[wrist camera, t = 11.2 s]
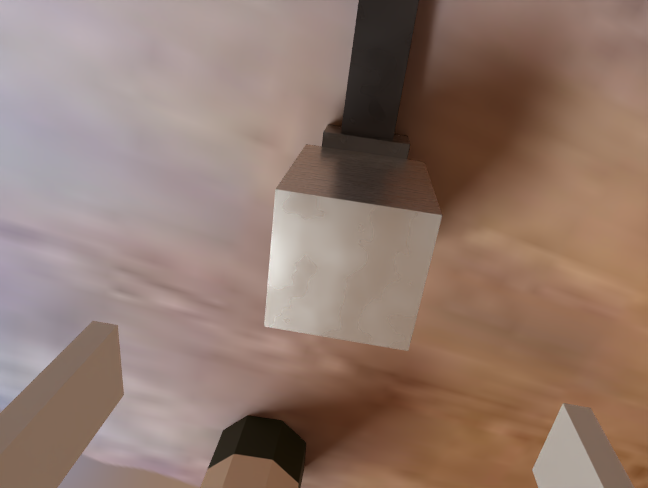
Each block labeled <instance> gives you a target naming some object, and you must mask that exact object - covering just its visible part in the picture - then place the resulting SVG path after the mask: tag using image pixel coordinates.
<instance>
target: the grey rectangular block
mask: <svg viewBox="0 0 648 488" xmlns="http://www.w3.org/2000/svg"><path fill="white" fill-rule="evenodd" d="M441 218H442V213H441V210H440V207H439V204H438V201H437V198H436V195H435V192H434V189H433V186H432V183H431V181H430V178H429V175H428V172H427V169H426V166H425V163H424V162H421V161H414V160H408V159H401V158H394V157H388V156H381V155H374V154H368V153H361V152H354V151H348V150H341V149H335V148H328V147H321V146H315V145H308V144H306V145H305V147H304V148H303V150H302V151H301V153H300V154H299V156H298V157H297V158H296V160H295V161H294V163H293V164H292V166H291V167H290V169H289V170H288V172H287V173H286V175H285V176H284V178H283V179H282V181H281V182H280V183H279V185H278V186H277V188H276V190H275V202H274V214H273V226H272V238H271V250H270V262H269V274H268V287H267V299H266V311H265V323H264V326H265V327H271V328H277V329H282V330H288V331H294V332H300V333H306V334H312V335H317V336H323V337H329V338H335V339H341V340H347V341H353V342H358V343H364V344H370V345H376V346H382V347H388V348H394V349H399V350H405V351H408V350H409V346H410V342H411V338H412V334H413V330H414V326H415V322H416V318H417V314H418V310H419V306H420V302H421V298H422V294H423V290H424V286H425V282H426V278H427V274H428V270H429V266H430V262H431V258H432V254H433V250H434V246H435V242H436V238H437V234H438V230H439V226H440V222H441Z"/></svg>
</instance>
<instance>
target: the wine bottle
mask: <svg viewBox="0 0 648 488" xmlns="http://www.w3.org/2000/svg"><path fill="white" fill-rule="evenodd" d="M305 451H306V442H305V441H304V440H303V439H301V438H300V437H299V436H298V435H297V434H296V433H295V432H294V431H293V430H292V429H291V428H290V427H289V426H288V425H287V424H286V423H284V422H283V421H281V420H274V419H267V418H260V417H254V416H246V417H244V418H243V419H241V420H240V421H238V422H236V423H235V424H233V425H231V426H230V427H228V428H226V429H225V430H223V432H222V435H221V437H220V440H219V442H218V445H217V447H216V450H215V452H214V455H213V457H212V460H211V462H210V465H209V467H208V470H207V472H206V475H205V477H204V480H203V482H202V485H201V487H200V488H300V487H301V482H302V476H303V471H304V463H305Z"/></svg>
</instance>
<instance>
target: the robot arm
mask: <svg viewBox="0 0 648 488" xmlns="http://www.w3.org/2000/svg"><path fill="white" fill-rule="evenodd" d="M123 395H124V391H123V380H122V369H121V357H120V346H119V335H118V325H114V324H108V323H103V322H97V321H92V322H91V323H90V324H89V325H88V326H87V327H86V328H85V329H84V330H83V331H82V332H81V333H80V334H79V335H78V336H77V337H76V338H75V339H74V340H73V341H72V342H71V343H70V344H69V345H68V346H67V347H66V348H65V349H64V350H63V351H62V352H61V353H60V354H59V355H58V356H57V357H56V358H55V359H54V360H53V361H52V362H51V363H50V364H49V365H48V366H47V367H46V368H45V369H44V370H43V371H42V372H41V373H40V374H39V375H38V376H37V377H36V378H35V379H34V380H33V381H32V382H31V383H30V384H29V385H28V386H27V387H26V388H25V389H24V390H23V391H22V392H21V393H20V394H19V395H18V396H17V397H16V398H15V399H14V400H13V401H12V402H11V403H10V404H9V405H8V406H7V407H6V408H5V409H4V410H3V411H2V412H1V413H0V488H57V487H58V486H59V485H60V483H61V482H62V480H63V479H64V477H65V476H66V475H67V473H68V472H69V470H70V469H71V468H72V466H73V465H74V463H75V462H76V461H77V459H78V458H79V457H80V455H81V454H82V452H83V451H84V450H85V448H86V447H87V445H88V444H89V443H90V441H91V440H92V438H93V437H94V436H95V434H96V433H97V431H98V430H99V429H100V427H101V426H102V424H103V423H104V422H105V420H106V419H107V417H108V416H109V415H110V413H111V412H112V410H113V409H114V408H115V406H116V405H117V404H118V402H119V401H120V399H121V398H122V397H123ZM533 473H534V476H535V479H536V482H537V485H538V488H634V486H633V485H632V483H631V481H630V479H629V477H628V475H627V474H626V472H625V470H624V468H623V466H622V465H621V463H620V461H619V459H618V457H617V455H616V454H615V452H614V450H613V448H612V446H611V444H610V443H609V441H608V439H607V437H606V435H605V433H604V432H603V430H602V428H601V426H600V424H599V423H598V421H597V419H596V417H595V415H594V413H593V412H592V410H591V408H588V407H582V406H576V405H571V404H565V403H563V404H562V407H561V409H560V411H559V413H558V415H557V417H556V420H555V422H554V424H553V426H552V428H551V430H550V433H549V435H548V437H547V439H546V441H545V444H544V446H543V448H542V450H541V452H540V454H539V457H538V459H537V461H536V463H535V465H534V468H533Z"/></svg>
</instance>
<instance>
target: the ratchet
mask: <svg viewBox="0 0 648 488" xmlns="http://www.w3.org/2000/svg"><path fill="white" fill-rule="evenodd" d="M418 2H419V0H359V4H358V11H357V18H356V26H355V33H354V40H353V48H352V55H351V62H350V70H349V77H348V84H347V92H346V99H345V106H344V114H343V121H342V126H335V125H327V127H326V129H325V130H324V132H323V141H322V147H328V148H335V149H341V150H348V151H354V152H361V153H368V154H374V155H381V156H388V157H394V158H401V159H407V157H408V152H409V147H410V143H409V138H408V136H404V135H397V134H394V132H395V126H396V121H397V115H398V110H399V105H400V99H401V94H402V88H403V83H404V78H405V72H406V67H407V61H408V56H409V51H410V45H411V40H412V34H413V29H414V24H415V18H416V13H417V7H418Z"/></svg>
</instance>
